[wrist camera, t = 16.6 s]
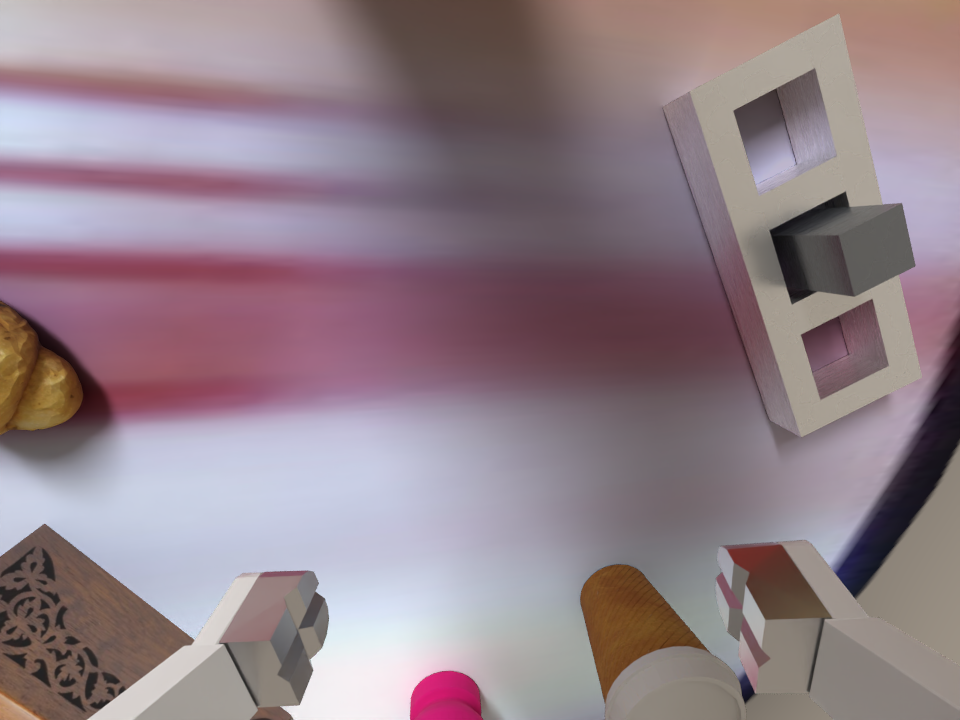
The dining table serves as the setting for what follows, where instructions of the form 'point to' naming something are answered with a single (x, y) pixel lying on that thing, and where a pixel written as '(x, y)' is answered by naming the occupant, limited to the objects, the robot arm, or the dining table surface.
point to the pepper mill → (446, 698)
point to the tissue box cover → (75, 634)
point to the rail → (759, 208)
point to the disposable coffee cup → (652, 655)
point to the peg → (843, 248)
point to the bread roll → (32, 379)
